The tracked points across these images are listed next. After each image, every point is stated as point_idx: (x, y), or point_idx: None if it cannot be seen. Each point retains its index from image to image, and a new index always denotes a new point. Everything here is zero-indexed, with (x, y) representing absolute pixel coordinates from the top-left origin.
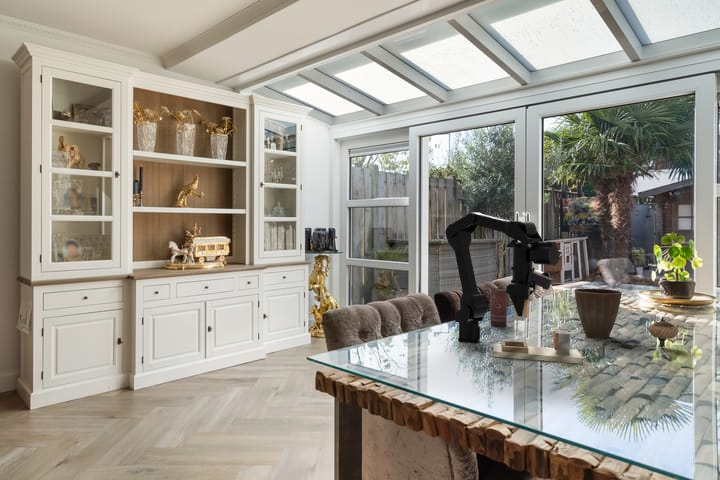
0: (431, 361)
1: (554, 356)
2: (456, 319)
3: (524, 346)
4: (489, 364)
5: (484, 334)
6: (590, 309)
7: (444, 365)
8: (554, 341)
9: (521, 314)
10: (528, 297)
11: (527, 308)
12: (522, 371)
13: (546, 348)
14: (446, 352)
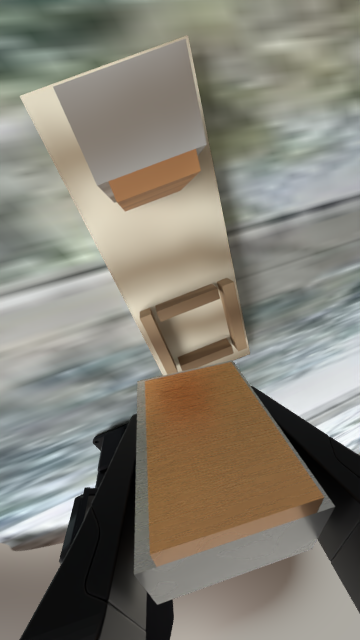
0: (320, 400)
1: (217, 186)
2: None
3: (215, 300)
4: (309, 327)
5: (27, 452)
6: None
7: (338, 377)
8: (157, 195)
9: (261, 394)
10: (84, 604)
11: (256, 412)
12: (345, 247)
13: (115, 245)
14: None
